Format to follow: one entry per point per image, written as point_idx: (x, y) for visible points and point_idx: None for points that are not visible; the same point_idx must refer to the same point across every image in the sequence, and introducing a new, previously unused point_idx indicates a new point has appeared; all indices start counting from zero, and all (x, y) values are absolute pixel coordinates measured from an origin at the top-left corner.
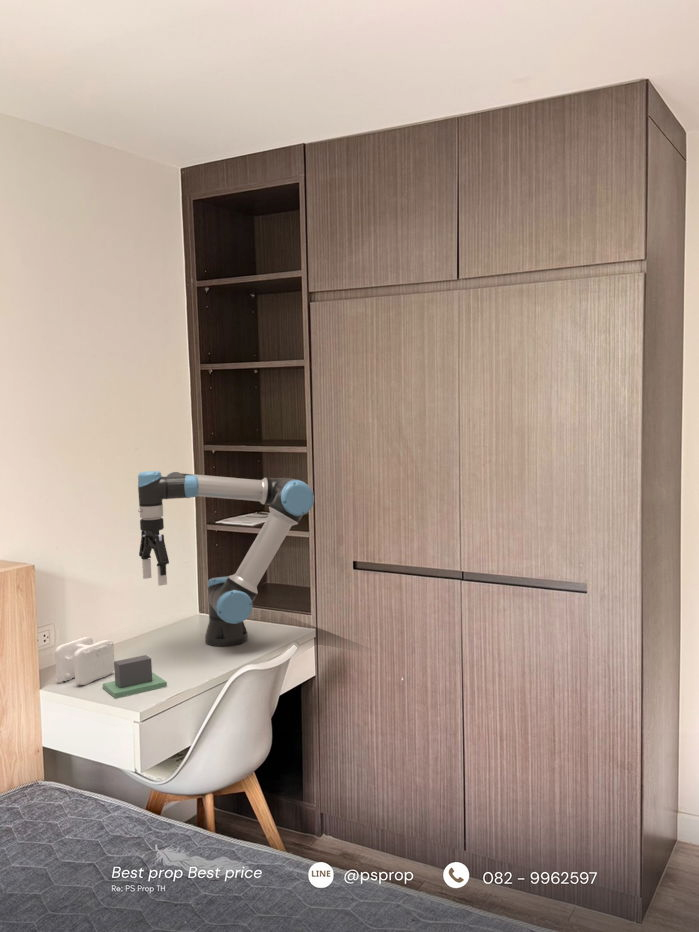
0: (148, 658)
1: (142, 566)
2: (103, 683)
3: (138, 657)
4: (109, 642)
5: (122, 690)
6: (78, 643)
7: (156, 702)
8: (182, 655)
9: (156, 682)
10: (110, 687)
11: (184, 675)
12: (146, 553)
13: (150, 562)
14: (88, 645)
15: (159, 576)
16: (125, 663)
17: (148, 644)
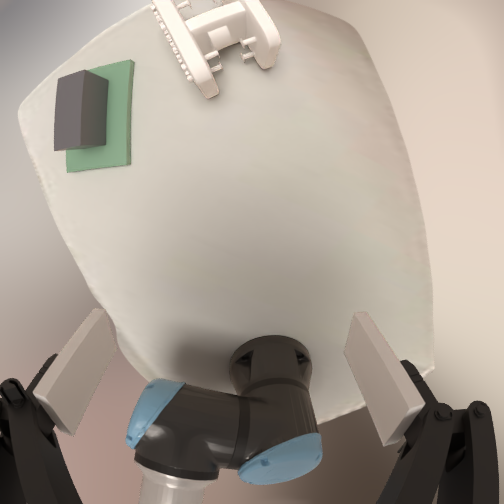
0: (56, 145)
1: (400, 364)
2: (130, 61)
3: (73, 125)
4: (187, 69)
5: None
6: (243, 5)
7: (28, 138)
8: (236, 271)
9: (72, 154)
10: (100, 70)
11: (107, 221)
12: (398, 476)
13: (375, 424)
14: (207, 21)
15: (71, 345)
16: (57, 92)
17: (366, 245)
